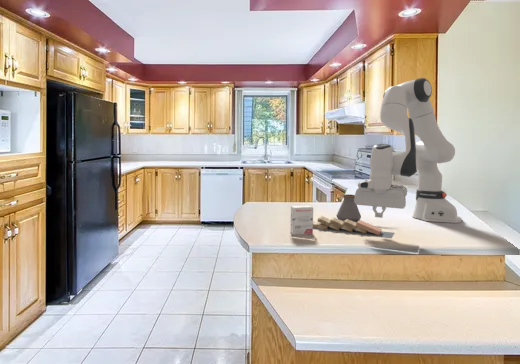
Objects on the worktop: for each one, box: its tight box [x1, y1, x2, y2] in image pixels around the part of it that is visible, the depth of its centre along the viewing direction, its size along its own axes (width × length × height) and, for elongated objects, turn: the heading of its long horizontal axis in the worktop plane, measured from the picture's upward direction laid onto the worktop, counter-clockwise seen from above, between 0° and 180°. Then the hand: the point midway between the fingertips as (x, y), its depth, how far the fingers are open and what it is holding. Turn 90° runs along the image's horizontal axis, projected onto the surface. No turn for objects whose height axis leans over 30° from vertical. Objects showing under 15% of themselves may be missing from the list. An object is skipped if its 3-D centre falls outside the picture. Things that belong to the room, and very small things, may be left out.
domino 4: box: [343, 219, 368, 234], centre depth 164 cm, size 2×5×10 cm
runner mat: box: [313, 227, 395, 239], centre depth 165 cm, size 34×10×1 cm, turn 64°
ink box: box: [289, 205, 314, 236], centre depth 161 cm, size 9×5×12 cm, turn 101°
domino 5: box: [356, 219, 383, 235], centre depth 162 cm, size 2×5×10 cm
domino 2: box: [316, 215, 341, 231], centre depth 169 cm, size 2×5×10 cm
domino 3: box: [330, 217, 354, 232], centre depth 167 cm, size 2×5×10 cm
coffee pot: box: [336, 193, 362, 223], centre depth 184 cm, size 21×12×15 cm, turn 94°
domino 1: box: [313, 221, 330, 229], centre depth 172 cm, size 2×5×10 cm
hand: (378, 217), depth 160 cm, fingers closed
